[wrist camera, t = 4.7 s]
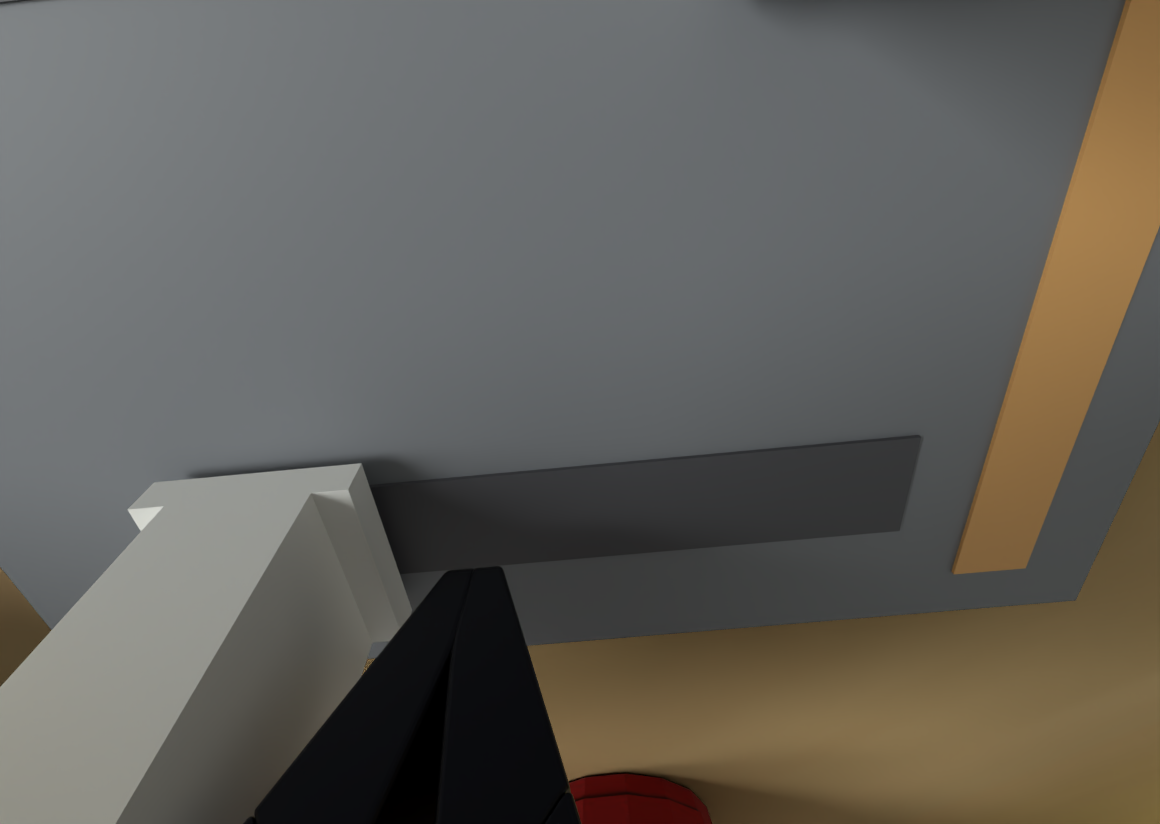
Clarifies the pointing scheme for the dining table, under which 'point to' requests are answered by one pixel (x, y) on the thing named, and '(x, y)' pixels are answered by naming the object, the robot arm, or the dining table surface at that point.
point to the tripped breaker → (202, 652)
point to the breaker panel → (592, 290)
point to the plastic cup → (636, 801)
